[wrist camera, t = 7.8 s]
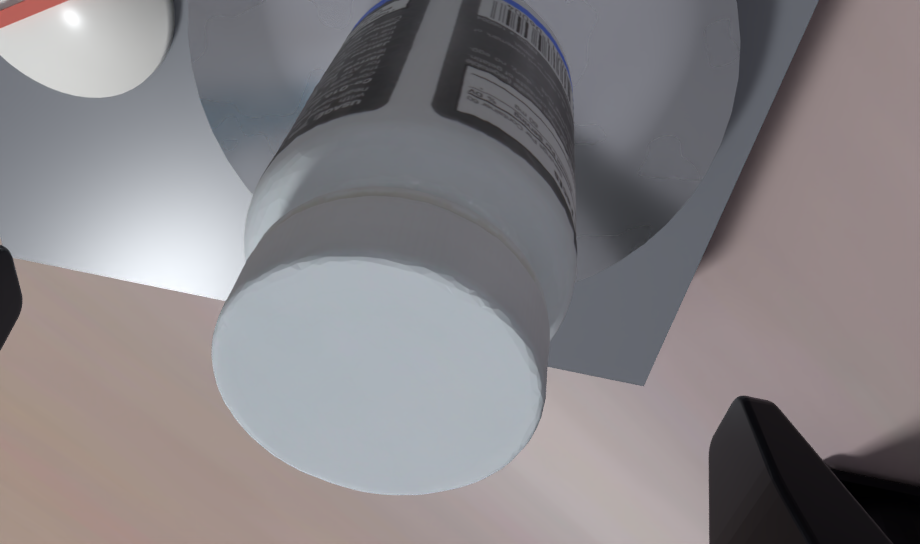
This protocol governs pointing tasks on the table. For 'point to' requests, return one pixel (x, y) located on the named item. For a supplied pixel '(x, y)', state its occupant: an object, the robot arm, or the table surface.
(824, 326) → the table surface
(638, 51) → the scale pan
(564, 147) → the pill bottle
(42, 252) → the scale
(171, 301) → the table surface
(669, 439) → the table surface
